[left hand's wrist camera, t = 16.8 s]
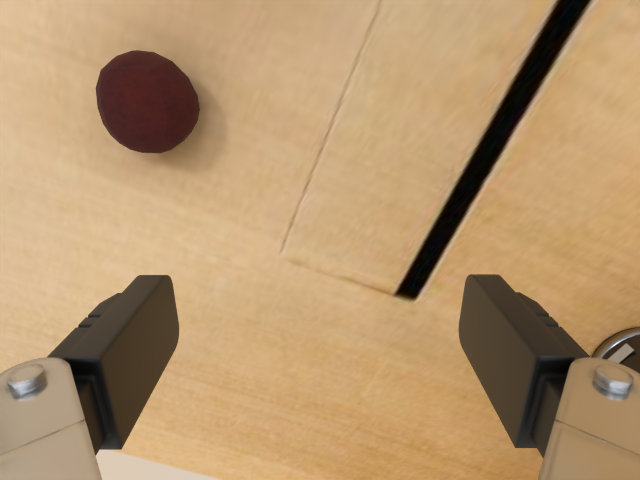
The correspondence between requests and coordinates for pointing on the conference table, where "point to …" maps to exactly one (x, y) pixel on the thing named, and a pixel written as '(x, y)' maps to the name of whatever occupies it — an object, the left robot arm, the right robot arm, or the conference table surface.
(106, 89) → the plum
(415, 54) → the conference table surface
